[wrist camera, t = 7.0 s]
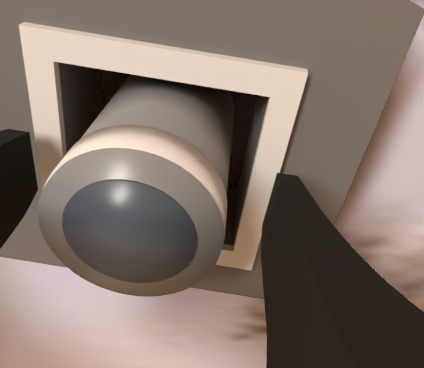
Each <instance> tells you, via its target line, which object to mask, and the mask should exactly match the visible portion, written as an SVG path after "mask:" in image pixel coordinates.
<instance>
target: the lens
mask: <svg viewBox="0 0 424 368" xmlns="http://www.w3.org/2000/svg"><path fill="white" fill-rule="evenodd" d="M233 123H234V104H233V100H232V96H231V94H230V91H229V90H223V89H217V88H211V87H205V86H199V85H193V84H187V83H181V82H175V81H169V80H163V79H157V78H151V77H145V76H139V75H133V74H130V75H129V76H128V77H127V79H126V80H125V81H124V83H123V84H122V85H121V87H120V88H119V89H118V91H117V92H116V93H115V94H114V96H113V97H112V98H111V100H110V101H109V102H108V104H107V105H106V106H105V107H104V109H103V110H102V111H101V113H100V114H99V115H98V117H97V118H96V119H95V121H94V122H93V123H92V124H91V126H90V127H89V128H88V130H87V131H86V132H85V134H84V135H83V136H82V137H81V139H80V140H79V141H78V142H76V143H75V144H74V145H73V146H72V148H71V149H70V150H69V151H68V152H67V153H66V155H65V156H64V157H63V159H62V160H61V161H60V162H59V164H58V165H57V166H56V168H55V169H54V170H53V171H52V173H51V174H50V176H49V177H48V179H47V181H46V183H45V186H44V188H43V190H42V193H41V195H40V198H39V203H38V221H39V226H40V229H41V232H42V235H43V237H44V239H45V241H46V243H47V244H48V246H49V247H50V249H51V251H52V252H53V253H54V254H55V255H56V257H57V258H58V259H59V260H60V261H61V262H62V263H63V264H64V265H65V266H67V267H68V268H69V269H70V270H72V271H73V272H74V273H76V274H77V275H79V276H80V277H82V278H83V279H85V280H87V281H89V282H91V283H93V284H95V285H97V286H100V287H102V288H105V289H108V290H111V291H114V292H118V293H122V294H128V295H134V296H161V295H168V294H172V293H176V292H179V291H183V290H185V289H187V288H189V287H192V286H193V285H195V284H197V283H198V282H200V281H201V280H202V279H203V278H205V277H206V276H207V275H208V274H209V273H210V271H211V270H212V269H213V268H214V266H215V264H216V263H217V261H218V258H219V256H220V253H221V250H222V247H223V243H224V239H225V230H226V218H227V187H228V176H229V165H230V155H231V144H232V133H233Z"/></svg>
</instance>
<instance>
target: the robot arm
mask: <svg viewBox="0 0 424 368" xmlns="http://www.w3.org/2000/svg"><path fill="white" fill-rule="evenodd" d="M37 191H38V185H37V178H36V172H35V165H34V159H33V152H32V146H31V139H30V133H29V132H25V131H19V130H13V129H6V130H2V131H0V249H1V248H2V246H3V245H4V243H5V242H6V241H7V239H8V238H9V237H10V235H11V234H12V233H13V231H14V230H15V228H16V227H17V226H18V224H19V223H20V222H21V220H22V219H23V217H24V216H25V214H26V212H27V210H28V208H29V207H30V205H31V203H32V201H33V199H34V197H35V195H36V193H37ZM261 265H262V278H263V289H264V300H265V312H266V324H267V368H424V312H423V311H421V310H420V309H419V308H418V307H416V306H415V305H414V304H412V303H411V302H410V301H409V300H408V299H406V298H405V297H404V296H403V295H402V294H400V293H399V292H398V291H397V290H396V289H394V288H393V287H392V286H391V285H390V284H389V283H387V282H386V281H385V280H384V279H383V278H382V277H381V276H380V275H379V274H378V273H377V272H376V271H375V270H374V269H373V268H372V267H371V266H370V265H368V264H367V263H366V262H365V261H364V260H363V259H362V258H361V257H360V256H359V254H358V253H357V252H356V251H355V250H354V249H353V248H352V247H351V246H350V245H349V243H348V242H347V241H346V240H345V239H344V238H343V236H342V235H341V234H340V233H339V232H338V231H337V229H336V228H335V227H334V226H333V224H332V223H331V222H330V220H329V219H328V218H327V217H326V215H325V214H324V213H323V211H322V210H321V208H320V207H319V206H318V204H317V203H316V201H315V200H314V199H313V197H312V196H311V194H310V193H309V191H308V190H307V188H306V187H305V185H304V184H303V183H302V181H301V180H300V178H299V177H298V176H295V175H289V174H282V173H277V175H276V178H275V182H274V185H273V189H272V192H271V196H270V199H269V203H268V206H267V210H266V213H265V217H264V221H263V224H262V236H261Z"/></svg>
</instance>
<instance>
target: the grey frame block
mask: <svg viewBox="0 0 424 368" xmlns="http://www.w3.org/2000/svg"><path fill="white" fill-rule="evenodd" d="M423 15H424V9H423V8H422V7H420V6H418V5H416V4H415V3H413V2H411V1H409V0H0V131H2V130H6V129H13V130H19V131H25V132H29V133H30V139H31V146H32V152H33V159H34V165H35V172H36V178H37V185H38V191H37V193H36V195H35V197H34V199H33V201H32V203H31V205H30V207H29V208H28V210H27V212H26V214H25V216H24V217H23V219H22V220H21V222H20V223H19V224H18V226H17V227H16V228H15V230H14V231H13V233H12V234H11V235H10V237H9V238H8V239H7V241H6V242H5V243H4V245H3V246H2V248H1V249H0V257H5V258H12V259H18V260H24V261H30V262H37V263H43V264H49V265H55V266H62V267H67V266H65V265H64V264H63V263H62V262H61V261H60V260H59V259H58V258H57V257H56V255H55V254H54V253H53V252H52V251H51V249H50V247H49V246H48V244H47V243H46V241H45V239H44V237H43V235H42V232H41V229H40V226H39V221H38V203H39V198H40V195H41V193H42V190H43V188H44V186H45V183H46V181H47V179H48V177H49V176H50V174H51V173H52V171H53V170H54V169H55V168H56V166H57V165H58V164H59V162H60V161H61V160H62V159H63V157H64V156H65V155H66V153H67V152H68V151H69V150H70V149H71V148H72V146H73V145H74V144H75V143H76V142H78V141H79V140H80V139H81V137H82V136H83V135H84V134H85V132H86V131H87V130H88V128H89V127H90V126H91V124H92V123H93V122H94V121H95V119H96V118H97V117H98V115H99V114H100V113H101V111H102V91H101V69H102V70H108V71H114V72H121V73H127V74H133V75H139V76H145V77H151V78H157V79H163V80H169V81H175V82H181V83H187V84H193V85H199V86H205V87H211V88H217V89H223V90H230V91H236V92H242V93H248V94H254V95H257V99H256V104H255V108H254V113H253V118H252V122H251V127H250V132H249V136H248V141H247V145H246V150H245V155H244V159H243V164H242V168H241V173H240V178H239V182H238V187H237V188H231V187H227V218H226V230H225V239H224V243H223V247H222V250H221V253H220V256H219V258H218V261H217V263H216V264H215V266H214V268H213V269H212V270H211V271H210V273H209V274H208V275H207V276H206V277H205V278H203V279H202V280H201V281H200V282H198V283H197V284H195V285H193V286H192V288H198V289H205V290H211V291H217V292H223V293H230V294H236V295H242V296H248V297H255V298H261V299H264V289H263V278H262V265H261V236H262V224H263V221H264V217H265V213H266V210H267V206H268V203H269V199H270V196H271V192H272V189H273V185H274V182H275V178H276V175H277V173H282V174H289V175H295V176H298V177H299V178H300V180H301V181H302V183H303V184H304V185H305V187H306V188H307V190H308V191H309V193H310V194H311V196H312V197H313V199H314V200H315V201H316V203H317V204H318V206H319V207H320V208H321V210H322V211H323V213H324V214H325V215H326V217H327V218H328V219H329V220H330V222H331V223H332V224H333V226H334V224H335V221H336V219H337V217H338V214H339V212H340V210H341V207H342V205H343V203H344V200H345V198H346V195H347V193H348V191H349V188H350V186H351V184H352V181H353V179H354V177H355V174H356V172H357V170H358V167H359V165H360V163H361V160H362V158H363V156H364V153H365V151H366V149H367V146H368V144H369V141H370V139H371V137H372V134H373V132H374V130H375V127H376V125H377V123H378V120H379V118H380V116H381V113H382V111H383V109H384V106H385V104H386V102H387V99H388V97H389V95H390V92H391V90H392V87H393V85H394V83H395V80H396V78H397V76H398V73H399V71H400V69H401V66H402V64H403V62H404V59H405V57H406V55H407V52H408V50H409V48H410V45H411V43H412V41H413V38H414V36H415V33H416V31H417V29H418V26H419V24H420V22H421V19H422V17H423Z"/></svg>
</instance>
